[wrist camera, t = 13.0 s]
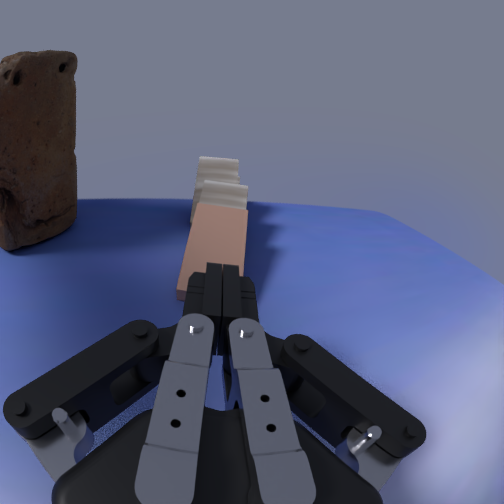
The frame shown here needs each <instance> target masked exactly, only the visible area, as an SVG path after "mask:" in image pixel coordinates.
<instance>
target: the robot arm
mask: <svg viewBox="0 0 504 504" xmlns="http://www.w3.org/2000/svg"><path fill="white" fill-rule="evenodd" d="M217 342H218V343H217ZM216 350H217V355H220V356H223V365H222V380H223V390H224V399H225V411H218V410H214V409H211V408H208V407H205V399H206V391H207V383H208V375H209V368H210V367H211V363H212V355H216ZM158 384H159V386H158V390H157V394H156V399H155V403H154V407H153V409H150V410H147V411H144V412H142V413H140V414H138V415H137V416H135V417H134V418H133V419H131V420H130V421H129V422H128V423H126V424H125V425H124V426H123V427H122V428H120V429H119V430H118V431H117V432H116V433H114V434H113V435H112V436H111V437H109V438H108V439H107V440H106V441H105V442H103V443H102V444H101V445H100V446H98V447H97V448H96V449H95V450H93V451H92V452H91V453H89V454H88V455H87V456H86V454H87V453H88V452H89V451H90V450H91V449H92V447H93V445H94V435H93V433H94V432H95V431H97V430H98V429H99V428H101V427H102V426H104V425H105V424H106V423H108V422H109V421H110V420H112V419H113V418H114V417H116V416H117V415H119V414H120V413H121V412H123V411H124V410H125V409H127V408H128V407H129V406H131V405H132V404H133V403H135V402H136V401H137V400H138V399H140V398H141V397H142V396H144V395H145V394H146V393H148V392H149V391H150V390H152V389H153V388H154V387H155V386H157V385H158ZM291 411H292V412H293V413H295V414H296V415H297V416H298V417H299V418H300V419H301V420H302V421H304V422H305V423H306V424H307V425H308V426H309V427H311V428H312V429H313V430H314V431H315V432H317V433H318V434H319V435H320V436H321V437H322V438H324V439H325V440H326V441H327V442H329V443H330V444H331V445H332V446H333V447H335V448H336V451H335V453H336V455H335V454H334V453H333V452H332V451H331V450H329V449H328V448H327V447H326V446H325V445H324V444H323V443H321V442H320V441H319V440H318V439H317V438H316V437H315V436H314V435H313V434H311V433H310V432H309V431H308V430H307V429H306V428H305V427H304V426H303V425H301V424H300V423H298V422H297V421H295V420H293V417H292V414H291ZM3 413H4V417H5V419H6V420H7V422H8V423H9V424H10V425H11V426H12V427H13V428H14V429H15V430H16V432H17V433H18V435H19V436H20V437H21V438H22V439H23V440H24V441H25V442H27V443H28V444H29V446H30V447H31V449H32V451H33V452H34V454H35V455H36V457H37V458H38V460H39V461H40V462H41V464H42V465H43V467H44V468H45V470H46V471H47V472H48V474H49V475H50V476H51V478H52V479H53V480H54V482H55V485H54V487H53V490H52V504H383V501H382V498H381V495H380V494H379V491H380V489H381V488H382V487H383V485H384V484H385V483H386V481H387V480H388V479H389V477H390V476H391V474H392V473H393V472H394V470H395V469H396V467H397V466H398V464H399V463H400V461H401V460H402V459H403V458H405V457H406V456H408V455H409V454H410V453H412V452H413V451H414V450H416V449H417V448H418V447H420V446H421V445H422V444H423V443H424V441H425V439H426V430H425V427H424V425H423V424H422V423H421V421H419V420H418V419H417V418H415V417H414V416H413V415H411V414H410V413H409V412H407V411H406V410H404V409H403V408H402V407H400V406H399V405H398V404H396V403H395V402H394V401H392V400H391V399H389V398H388V397H387V396H385V395H384V394H383V393H381V392H380V391H379V390H377V389H376V388H375V387H373V386H372V385H371V384H369V383H368V382H367V381H365V380H364V379H363V378H362V377H360V376H359V375H358V374H356V373H355V372H354V371H352V370H351V369H350V368H348V367H347V366H346V365H345V364H343V363H342V362H341V361H339V360H338V359H337V358H335V357H334V356H333V355H332V354H330V353H329V352H328V351H326V350H325V349H324V348H323V347H321V346H320V345H319V344H318V343H316V342H315V341H314V340H312V339H311V338H310V337H308V336H305V335H302V334H293V335H290V336H288V337H287V338H286V339H285V340H283V339H280V338H276V337H273V336H271V335H269V334H267V333H266V332H265V331H264V329H263V327H262V326H261V325H260V324H259V318H258V310H257V302H256V294H255V286H254V283H253V282H252V281H251V279H250V278H249V277H243V276H240V275H239V265H230V264H223V268H222V264H220V263H211V262H207V265H206V273H203V272H194V273H193V274H192V275H191V276H190V277H189V279H188V285H187V291H186V297H185V303H184V309H183V315H182V318H181V319H180V320H179V322H178V323H177V324H175V325H174V326H171V327H167V328H160V329H157V327H156V326H155V325H154V324H153V323H151V322H149V321H146V320H135V321H131V322H129V323H128V324H126V325H124V326H123V327H121V328H119V329H118V330H116V331H114V332H113V333H111V334H109V335H108V336H106V337H104V338H103V339H101V340H100V341H98V342H96V343H95V344H93V345H91V346H90V347H88V348H86V349H85V350H83V351H81V352H80V353H78V354H76V355H75V356H73V357H72V358H70V359H68V360H67V361H65V362H63V363H62V364H60V365H58V366H57V367H55V368H53V369H52V370H50V371H48V372H47V373H45V374H44V375H42V376H40V377H39V378H37V379H35V380H34V381H32V382H30V383H29V384H27V385H26V386H24V387H22V388H21V389H19V390H17V391H16V392H14V393H12V394H11V395H10V396H9V397H8V398H7V399H6V400H5V402H4V406H3ZM85 456H86V457H85Z"/></svg>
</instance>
